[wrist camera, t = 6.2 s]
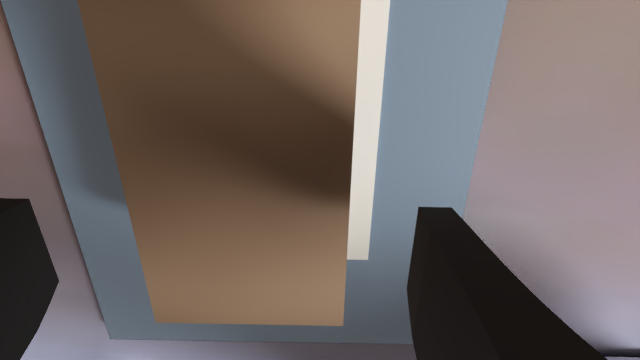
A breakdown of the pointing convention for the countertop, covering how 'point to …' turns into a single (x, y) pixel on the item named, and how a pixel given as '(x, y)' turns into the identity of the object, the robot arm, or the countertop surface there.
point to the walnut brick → (233, 151)
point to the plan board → (367, 161)
